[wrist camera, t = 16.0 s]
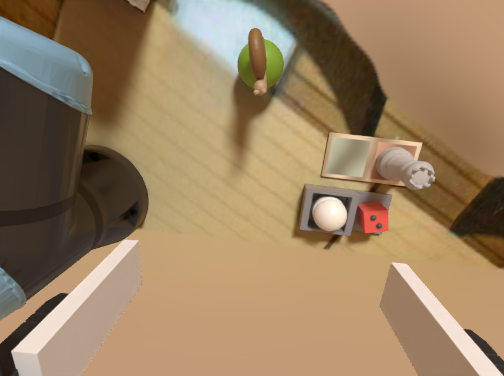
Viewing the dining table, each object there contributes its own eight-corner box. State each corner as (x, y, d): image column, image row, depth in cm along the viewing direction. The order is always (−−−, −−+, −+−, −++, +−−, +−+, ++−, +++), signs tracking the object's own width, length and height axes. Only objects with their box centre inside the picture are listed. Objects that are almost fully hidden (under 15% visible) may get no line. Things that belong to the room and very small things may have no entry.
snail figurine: (245, 101, 36) (230, 100, 24) (237, 49, 34) (217, 20, 23) (286, 95, 35) (290, 90, 24) (280, 41, 33) (282, 7, 22)
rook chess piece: (400, 183, 37) (432, 203, 29) (369, 173, 37) (393, 190, 29) (415, 152, 35) (453, 164, 28) (383, 141, 35) (412, 151, 28)
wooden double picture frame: (321, 175, 38) (321, 176, 38) (329, 132, 36) (329, 132, 36) (408, 186, 37) (409, 186, 37) (421, 142, 35) (422, 143, 35)
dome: (308, 220, 39) (312, 234, 35) (314, 192, 38) (318, 202, 34) (339, 224, 39) (346, 239, 35) (345, 196, 38) (354, 207, 33)
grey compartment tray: (298, 222, 40) (300, 233, 37) (305, 183, 38) (308, 192, 35) (380, 232, 40) (390, 245, 36) (390, 194, 38) (403, 204, 34)
